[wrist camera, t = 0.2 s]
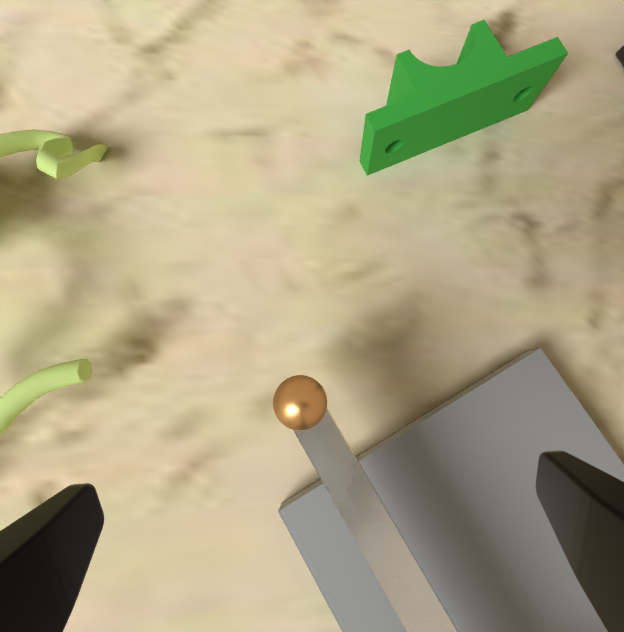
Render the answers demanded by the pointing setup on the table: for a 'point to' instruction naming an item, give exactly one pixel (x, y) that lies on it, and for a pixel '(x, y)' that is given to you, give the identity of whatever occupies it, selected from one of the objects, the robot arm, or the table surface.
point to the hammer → (360, 506)
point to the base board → (466, 509)
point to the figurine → (50, 149)
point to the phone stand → (621, 55)
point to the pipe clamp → (454, 97)
